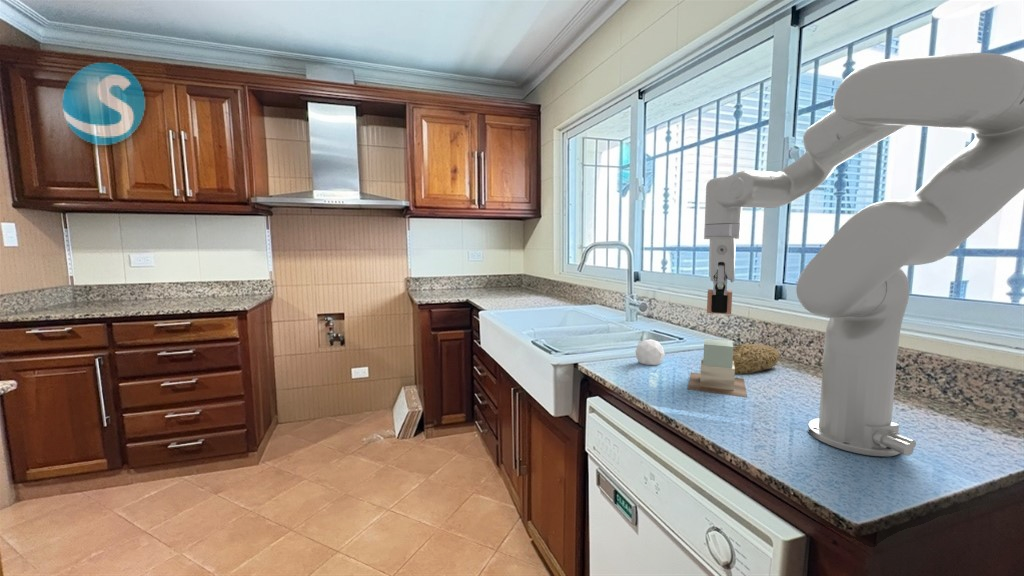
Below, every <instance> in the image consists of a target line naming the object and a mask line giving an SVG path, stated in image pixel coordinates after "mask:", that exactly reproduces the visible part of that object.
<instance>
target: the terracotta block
mask: <svg viewBox="0 0 1024 576" xmlns="http://www.w3.org/2000/svg"><path fill="white" fill-rule="evenodd" d="M712 295H713V289H707V299H706V301H707V302H706V314H719V315H720V314H721V315H732V307H733V306H732V305H733V303H732V302H733V290H731V289H727V295H728V300H727V313H715V312H712V311H711V305H712Z"/></svg>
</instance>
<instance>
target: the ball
mask: <svg viewBox="0 0 1024 576" xmlns="http://www.w3.org/2000/svg"><path fill="white" fill-rule="evenodd" d="M635 357H636V359H637V360H638V362H639V363H640V364H642V365H646V366H658V365H660V364H661V363H662V362H663V361H664V357H665V351H664V347H663V346H662V345H661V343H660V342H659V341H658V340H654V339H645V340H642V341H640V342H639V343H638V344H637V347H636V349H635Z"/></svg>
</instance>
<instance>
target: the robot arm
mask: <svg viewBox="0 0 1024 576" xmlns="http://www.w3.org/2000/svg"><path fill="white" fill-rule="evenodd" d="M832 104H833V110H832V111H831V112H829V113H827V114H826V115H825V116H823V117H822V118H820V119H819V120H818V121H816V122H815V123H813V124H812V125H810V126H809V127H807V128H806V130H805V131H804V133H803V136H802V141H803V146H804V149H805V153H803V155H801V156H800V157H799V158H797V159H796V160H795V161H794V162H792V163H791V164H789V165H787V166H785V167H784V168H782V169H781V170H778V171H777V172H776V171H766V170H753V169H749V170H741V171H738V172H735V173H733V174H731V175H728V176H721V177H719V176H718V177H715V178H711V179H710V180H708V182H707V183H706V187H705V208H704V209H705V210H704V229H703V230H704V234H703V239H704V240H709V246H708V247H709V249H708V250H709V253H708V254H709V255H708V257H709V258H708V260H709V261H708V264H709V265H708V268H709V278H710V281H711V282H712V284H713V286H712V287H713V289H712V290H713V295H712V305H711V311H712V312H715V313H714V314H716V313H727V300H728V295H727V290H728V281H729V282H730V283H734V282H735V275H736V274H735V273H736V272H735V271H736V270H735V269H736V251H737V250H736V248H737V247H736V240H737V239H739V240H740V239H741V235H742V220H743V219H742V218H743V217H742V216H743V208H759V209H761V208H764V209H765V208H766V209H772V208H773V209H775V208H779V207H783V206H785V205H788V204H790V203H792V202H794V201H797V200H799V198H801V197H803V196H805V195H807V194H809V193H810V192H812V191H814V190H815V189H817V188H818V187H819V186H820V185H822V184H823V183H824V182H825V181H826V180H827V179H828V178H829V177H830V176H831V174H833V172H834V170H835V169H836V168H837V167H838V166H839V165H841V164H842V163H844V162H846V161H847V160H850V159H852V158H853V157H855V156H857V155H858V154H859V153H860V154H861V153H862V152H863V151H865V150H867V149H868V148H870V147H872V146H874V145H875V144H877V143H879V142H881V141H882V140H885V139H886V138H888V137H890V136H891V135H893V134H895V133H897V132H899V131H900V130H902V129H904V128H906V127H907V126H909V127H911V126H913V127H930V128H939V129H940V128H941V129H947V130H949V129H950V130H956V131H962V132H966V133H971V134H972V133H973V135H974V139H973V140H972V141H971V143H970V144H969V145H967V146H966V147H965V148H963V149H962V150H961V151H960V152H958V153H957V154H955V155H954V156H953V157H951V158H950V159H949V160H947V161H946V162H945V163H944V164H943V165H942V166H941V167H939V168H938V170H936V171H935V173H933V174H932V176H931V177H930V178H929V179H928V180H927V181H926V182H925V183H924V184H923V185H922V186H920V188H919V189H918V190H917V191H915V193H913V194H912V195H911V196H909V197H908V198H906V199H888V200H887V199H886V200H882V201H878V202H874V203H872V204H869V205H868V206H866V207H864V208H862V209H861V210H859V211H858V212H856V213H855V214H854V215H852V216H851V217H850V218H849V219H847V221H845V223H843V225H842V226H841V227H840V228H839V229H838V230H837V231H836V232H835V234H833V236H832V237H831V238H830V239H829V240H828V241H827V242H826V243H825V245H824V246H822V248H821V249H820V250H819V251H818V252H817V254H816V255H814V257H813V258H812V259H811V260H810V261H809V262H808V264H807V265H805V267H804V269H803V270H802V271H801V272H800V275H799V277H798V279H797V283H796V287H795V288H796V291H795V292H796V297H797V299H798V301H799V303H800V305H801V306H802V307H803V308H804V309H805V310H806V311H808V312H810V313H811V314H812V315H815V316H818V317H822V318H829V319H828V323H827V326H826V330H825V335H824V342H823V343H824V344H823V357H822V367H821V368H822V369H821V385H820V386H821V387H820V399H819V413H818V414H819V415H818V418H814V419H812V420H809V422H808V423H807V427H808V429H807V431H808V433H809V434H810V435H811V436H813V438H815V439H817V440H818V441H820V442H822V443H824V444H827V445H829V446H830V447H833V448H836V449H838V450H842V451H846V452H849V453H853V454H859V455H865V456H871V457H893V456H897V455H899V454H902V455H903V456H908V457H909V456H911V455H912V454H913V452H914V449H915V447H916V446H917V443H916V440H914V439H912V438H910V437H908V436H903V435H901V434H900V433H899V428H900V425H899V424H898V423H896V422H893V421H892V420H893V409H894V408H893V407H894V399H895V398H894V396H895V387H896V386H895V385H896V373H897V372H896V371H897V361H898V360H897V359H898V353H899V343H900V336H901V328H902V323H903V319H904V317H905V312H906V309H907V306H908V302H909V298H910V283H909V279H908V276H907V275H906V273H905V272H904V271H903V270H902V267H904V266H919V265H926V264H927V265H928V264H932V263H935V262H937V261H941V260H942V259H944V258H946V257H947V256H949V255H950V254H951V253H953V251H955V250H956V249H957V248H958V247H959V246H960V245H961V244H962V243H963V242H965V240H967V239H968V238H969V237H970V236H971V235H972V234H974V233H975V232H976V231H977V230H979V228H981V227H982V226H983V225H984V224H986V222H988V221H989V220H990V219H991V218H992V217H993V216H995V215H996V214H997V213H998V212H999V211H1001V210H1002V208H1003V207H1005V206H1006V205H1007V204H1008V203H1009V202H1010V201H1011V200H1012V199H1013V198H1015V197H1016V196H1017V195H1018V194H1020V192H1021V191H1023V190H1024V61H1023V60H1020V59H1017V58H1015V57H1014V58H1013V57H1011V56H1008V55H1005V54H1004V55H1003V54H1000V53H999V54H998V53H991V52H968V53H967V52H966V53H965V52H964V53H956V54H955V53H953V54H941V55H940V54H939V55H928V56H916V57H915V56H913V57H902V58H901V57H899V58H897V57H896V58H887V59H885V58H884V59H879V60H875V61H871V62H869V63H866V64H864V65H863V64H862V66H860V67H858V68H856V69H855V70H854V71H852V72H851V73H850V74H849V75H847V76H845V78H844V79H843V80H842V81H841V83H839V86H838V88H837V89H836V90H835V93H834V96H833V101H832Z"/></svg>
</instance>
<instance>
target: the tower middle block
mask: <svg viewBox="0 0 1024 576" xmlns="http://www.w3.org/2000/svg"><path fill="white" fill-rule="evenodd" d="M733 348H734V343H733V341H732V340H722V339H721V340H720V339H709V338H704V342H703V357H702V358H703V365H707V366H716V367H725V368H732V363H733Z"/></svg>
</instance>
